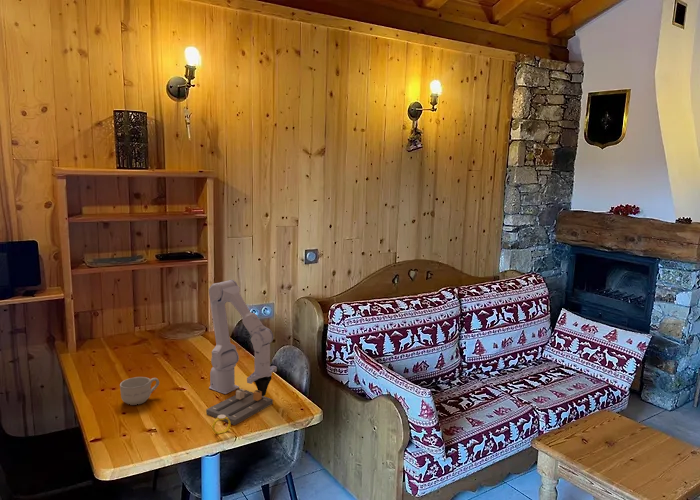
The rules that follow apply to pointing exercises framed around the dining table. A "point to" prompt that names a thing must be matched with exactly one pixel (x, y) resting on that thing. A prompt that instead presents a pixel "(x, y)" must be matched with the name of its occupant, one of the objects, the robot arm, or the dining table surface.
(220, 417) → the watch
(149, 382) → the teacup
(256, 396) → the fader orange
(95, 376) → the dining table surface
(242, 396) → the fader ivory
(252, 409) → the fader panel
